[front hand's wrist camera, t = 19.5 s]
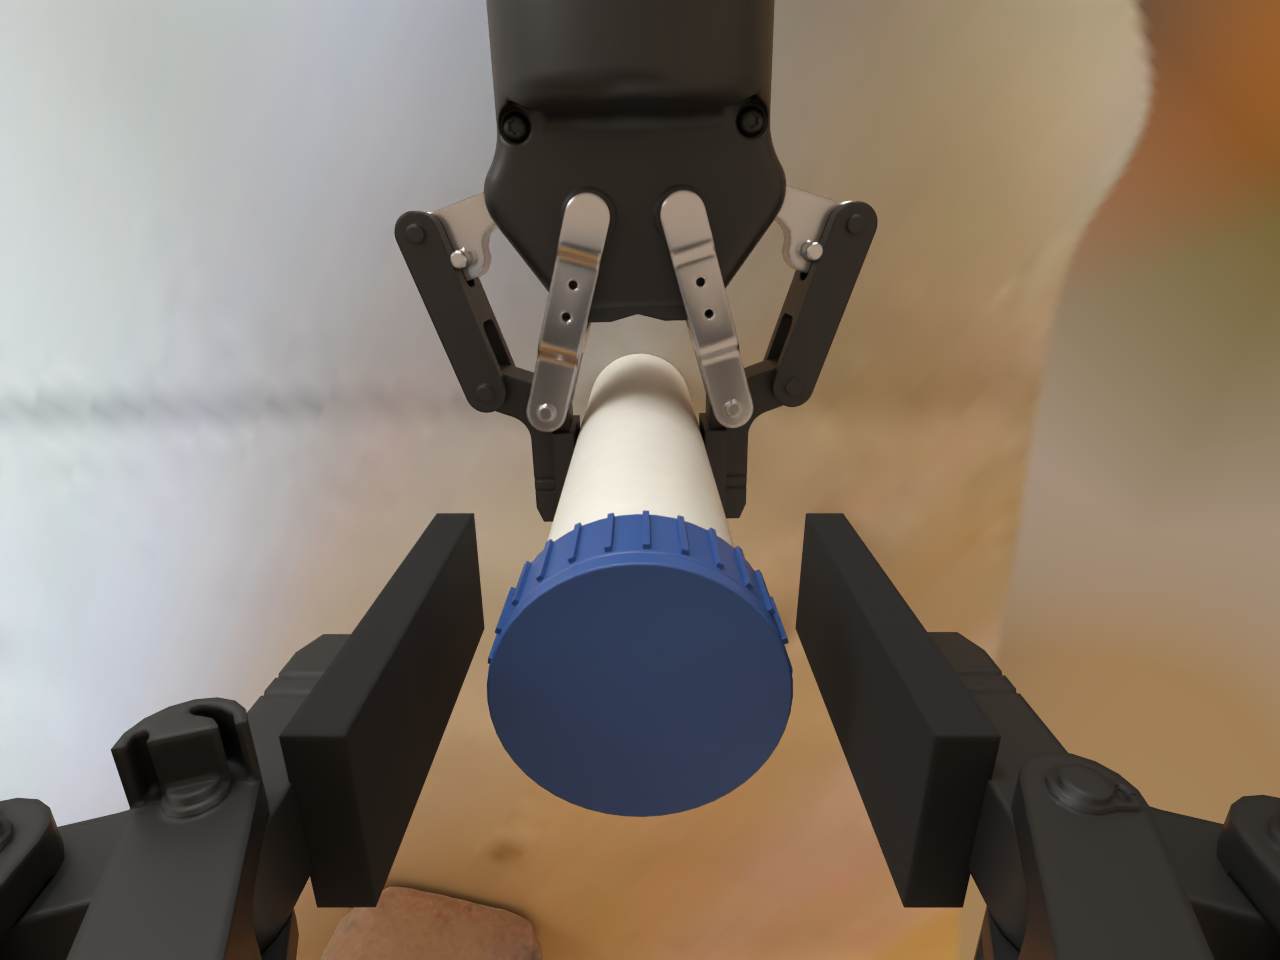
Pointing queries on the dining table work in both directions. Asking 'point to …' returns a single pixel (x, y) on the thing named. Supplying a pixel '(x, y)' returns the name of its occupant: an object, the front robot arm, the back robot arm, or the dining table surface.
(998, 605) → the dining table surface
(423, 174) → the dining table surface
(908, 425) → the dining table surface
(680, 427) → the white cylinder
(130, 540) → the dining table surface
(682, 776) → the lid
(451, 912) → the stone
